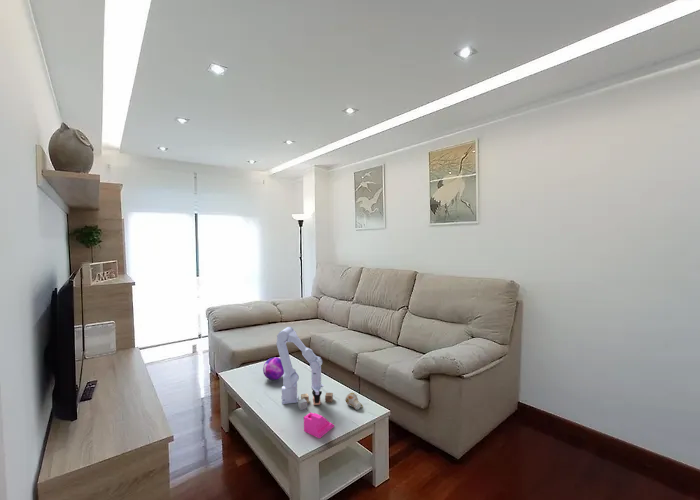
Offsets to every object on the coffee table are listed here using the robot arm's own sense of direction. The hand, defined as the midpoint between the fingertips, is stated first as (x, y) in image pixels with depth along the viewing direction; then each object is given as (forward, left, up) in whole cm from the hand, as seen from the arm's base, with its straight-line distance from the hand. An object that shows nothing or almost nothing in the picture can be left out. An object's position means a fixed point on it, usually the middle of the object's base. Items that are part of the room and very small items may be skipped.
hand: (316, 400), depth 191 cm
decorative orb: (-27, +38, -2) cm, 47 cm away
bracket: (0, -25, -2) cm, 25 cm away
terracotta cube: (0, 0, -1) cm, 1 cm away
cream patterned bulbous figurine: (+22, -7, -2) cm, 23 cm away
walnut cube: (+8, +2, -2) cm, 8 cm away
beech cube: (-7, +3, -2) cm, 8 cm away
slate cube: (-8, -3, -2) cm, 9 cm away
